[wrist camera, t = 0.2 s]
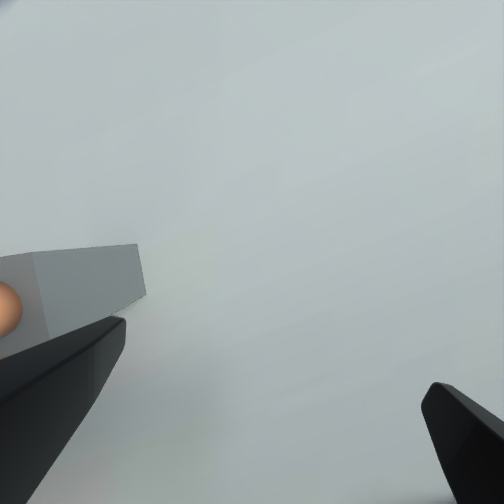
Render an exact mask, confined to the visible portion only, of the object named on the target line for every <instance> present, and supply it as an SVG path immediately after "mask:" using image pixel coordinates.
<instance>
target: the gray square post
mask: <svg viewBox="0 0 504 504" xmlns="http://www.w3.org/2000/svg"><path fill="white" fill-rule="evenodd" d="M144 295H146V290H145V285H144V279H143V274H142V268H141V263H140V257H139V252H138V246H137V244H130V245H117V246H104V247H92V248H79V249H67V250H54V251H41V252H30V253H24V254H17V255H11V256H4V257H0V357H3V356H10V355H13V354H15V353H18V352H20V351H23V350H25V349H28V348H30V347H33V346H35V345H38V344H40V343H43V342H45V341H48V340H50V339H53V338H55V337H58V336H61V335H63V334H66V333H68V332H71V331H73V330H76V329H78V328H81V327H83V326H86V325H88V324H91V323H93V322H96V321H98V320H101V319H103V318H106V317H108V316H110V315H111V314H113V313H115V312H117V311H118V310H120V309H122V308H124V307H125V306H127V305H129V304H130V303H132V302H134V301H136V300H137V299H139V298H141V297H143V296H144Z"/></svg>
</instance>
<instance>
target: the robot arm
mask: <svg viewBox="0 0 504 504" xmlns="http://www.w3.org/2000/svg"><path fill="white" fill-rule="evenodd" d="M125 337H126V320H125V319H124V318H121V317H116V316H109V317H106V318H103V319H101V320H98V321H96V322H93V323H91V324H88V325H86V326H83V327H81V328H78V329H76V330H73V331H71V332H68V333H66V334H63V335H61V336H58V337H55V338H53V339H50V340H48V341H45V342H43V343H40V344H38V345H35V346H33V347H30V348H28V349H25V350H23V351H20V352H18V353H15V354H13V355H10V356H8V357H5V358H2V359H0V504H26V503H27V502H28V500H29V499H30V497H31V496H32V494H33V493H34V491H35V490H36V488H37V487H38V485H39V484H40V482H41V481H42V479H43V478H44V476H45V475H46V474H47V472H48V471H49V469H50V468H51V466H52V465H53V463H54V462H55V460H56V459H57V457H58V456H59V454H60V453H61V451H62V450H63V448H64V447H65V446H66V444H67V443H68V441H69V440H70V438H71V437H72V435H73V434H74V432H75V431H76V429H77V428H78V426H79V425H80V423H81V422H82V420H83V419H84V418H85V416H86V415H87V413H88V412H89V410H90V408H91V407H92V405H93V404H94V402H95V400H96V399H97V397H98V395H99V393H100V392H101V390H102V388H103V386H104V384H105V382H106V380H107V379H108V377H109V375H110V373H111V371H112V369H113V368H114V366H115V364H116V362H117V360H118V358H119V357H120V355H121V353H122V351H123V349H124V346H125ZM421 410H422V414H423V417H424V419H425V422H426V425H427V428H428V431H429V433H430V436H431V439H432V442H433V445H434V448H435V450H436V453H437V456H438V459H439V462H440V464H441V467H442V470H443V472H444V475H445V477H446V479H447V482H448V484H449V486H450V488H451V491H452V493H453V495H454V497H455V500H456V502H457V504H504V422H503V421H502V420H501V419H499V418H498V417H496V416H495V415H493V414H492V413H490V412H489V411H488V410H486V409H485V408H483V407H482V406H480V405H479V404H477V403H476V402H475V401H473V400H472V399H470V398H469V397H467V396H466V395H464V394H463V393H462V392H460V391H459V390H457V389H456V388H454V387H453V386H451V385H449V384H444V383H439V382H434V383H433V384H432V385H431V386H430V388H429V390H428V392H427V393H426V395H425V397H424V399H423V401H422V403H421Z"/></svg>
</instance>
